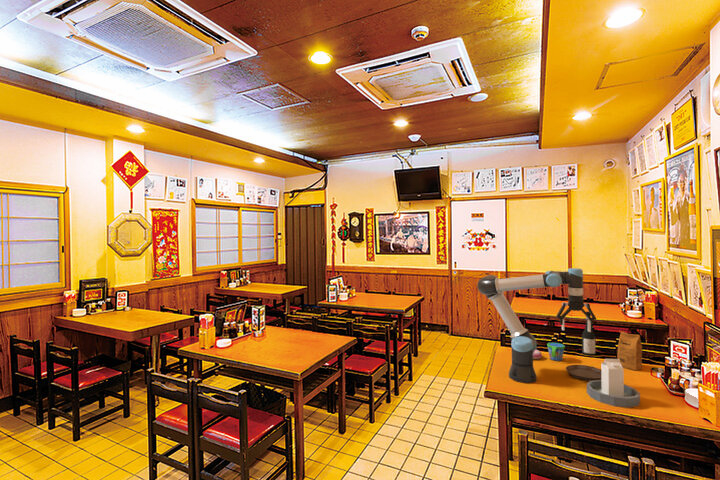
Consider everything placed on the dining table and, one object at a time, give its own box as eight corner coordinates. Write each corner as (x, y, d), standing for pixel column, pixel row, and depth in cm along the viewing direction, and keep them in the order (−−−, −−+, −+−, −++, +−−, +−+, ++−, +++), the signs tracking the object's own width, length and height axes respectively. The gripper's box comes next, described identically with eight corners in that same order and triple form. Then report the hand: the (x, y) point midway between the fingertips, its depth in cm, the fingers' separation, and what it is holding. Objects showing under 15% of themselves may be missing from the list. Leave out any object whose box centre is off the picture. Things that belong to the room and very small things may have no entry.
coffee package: (623, 362, 236) (623, 329, 235) (645, 369, 224) (644, 334, 224) (614, 365, 232) (613, 331, 231) (635, 371, 220) (635, 336, 220)
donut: (544, 361, 242) (544, 353, 242) (523, 360, 244) (523, 353, 244) (538, 354, 255) (538, 347, 255) (518, 353, 257) (518, 346, 257)
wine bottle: (596, 356, 249) (596, 313, 249) (583, 355, 252) (583, 312, 252) (593, 352, 257) (593, 311, 257) (581, 351, 260) (580, 310, 259)
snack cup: (551, 354, 253) (551, 340, 253) (568, 358, 246) (567, 343, 246) (543, 360, 243) (543, 345, 242) (560, 364, 235) (560, 348, 235)
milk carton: (601, 391, 191) (601, 356, 190) (616, 392, 190) (615, 356, 189) (608, 397, 184) (608, 361, 183) (623, 398, 183) (623, 361, 182)
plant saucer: (590, 385, 202) (590, 379, 202) (558, 372, 221) (558, 367, 221) (614, 379, 210) (614, 373, 210) (581, 367, 229) (581, 362, 229)
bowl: (596, 404, 179) (595, 395, 179) (582, 386, 200) (581, 378, 200) (647, 409, 173) (647, 400, 173) (627, 390, 194) (627, 382, 194)
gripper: (553, 295, 209) (554, 331, 209) (602, 296, 202) (602, 333, 202) (550, 293, 216) (551, 328, 217) (597, 294, 209) (598, 330, 210)
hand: (576, 330), depth 210 cm, fingers open, 13 cm apart
